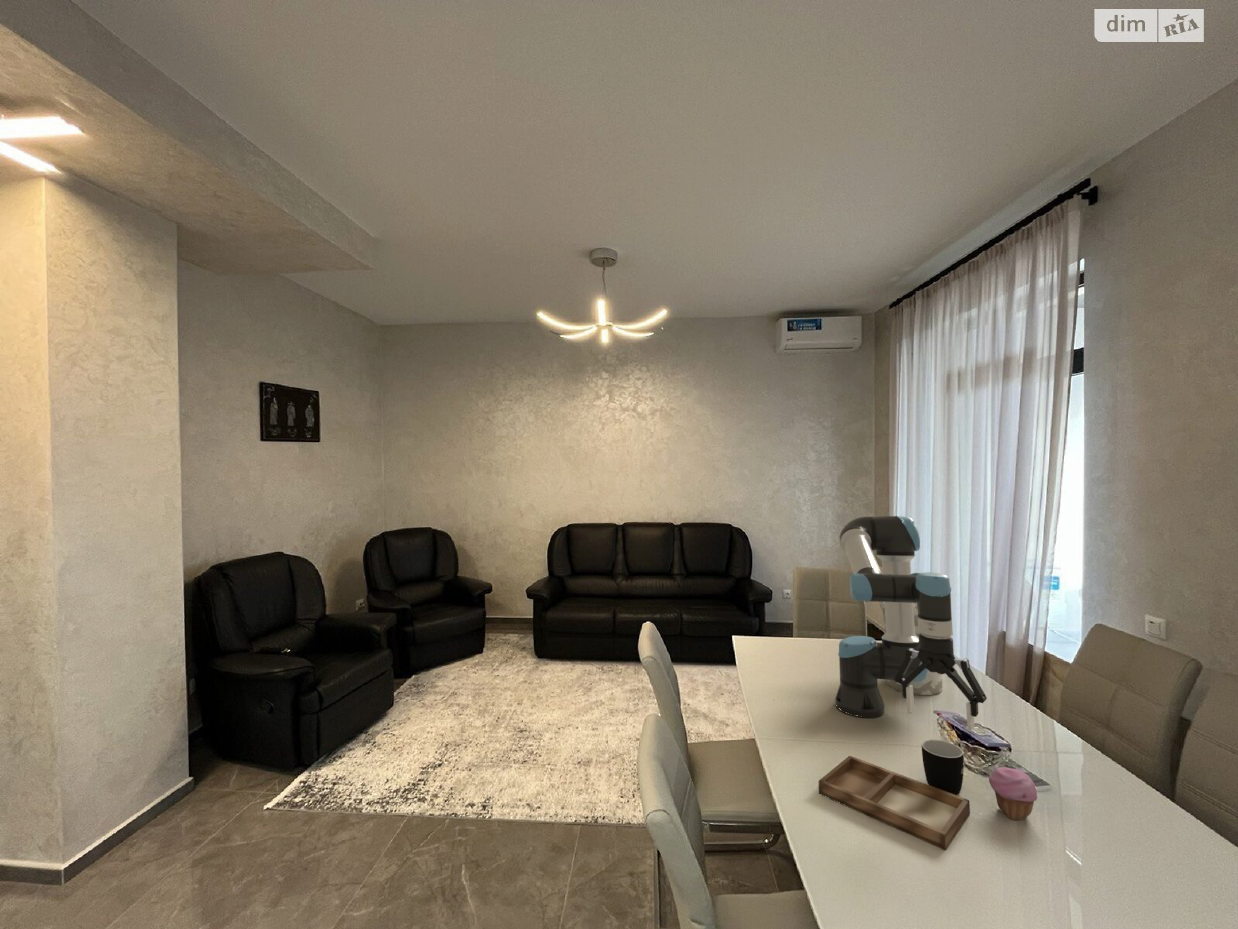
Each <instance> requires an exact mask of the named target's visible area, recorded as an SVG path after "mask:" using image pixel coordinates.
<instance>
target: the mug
mask: <svg viewBox="0 0 1238 929" xmlns="http://www.w3.org/2000/svg"><path fill="white" fill-rule="evenodd" d="M921 755H922V764H923V771H924V775H925V779H926V782H927V785H930V786H933V787H935V788H938V789H941V790H943V791H946V792H949V793H951V794H954V795H957V796H959V794H960V793H961V791H962V788H963V783H964V782H963V781H964V767H965V766H964V763H965V757H964V751H963V749H961V747H959V746H958V745H956V744H954V743H952V742H949V741H946V740H945V741H944V740H940V739H927V740H924V741H923V742H922V743H921Z"/></svg>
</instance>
